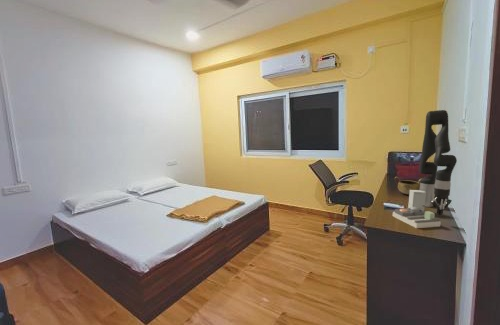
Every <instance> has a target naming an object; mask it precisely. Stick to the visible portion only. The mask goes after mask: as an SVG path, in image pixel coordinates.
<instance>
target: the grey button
mask: <svg viewBox="0 0 500 325" xmlns="http://www.w3.org/2000/svg"><path fill="white" fill-rule="evenodd" d="M410 210H412V211H414V212H418V211H420V208H419V207H411V208H410Z"/></svg>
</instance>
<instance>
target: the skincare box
mask: <svg viewBox="0 0 500 325" xmlns="http://www.w3.org/2000/svg"><path fill="white" fill-rule="evenodd" d="M425 199H426V192H424V191H421V190H420V189H419V190H410V194H409V195H408V205H407V206H408V207H407V208H411V207H419V208H420V210H423V211H425V208H426V207H425Z"/></svg>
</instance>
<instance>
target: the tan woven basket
mask: <svg viewBox="0 0 500 325" xmlns="http://www.w3.org/2000/svg"><path fill="white" fill-rule="evenodd" d="M397 179H398V182H397ZM421 179H422V178H420V179H418V180H417V181H414V180H408V179H406V180H404V179H400V177H398V176H395V177H394V182H395V184H396V187H397V189H398V191H399V192H400V193H402V194H404V195H408V196H409V194H410V190H420V180H421Z"/></svg>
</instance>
